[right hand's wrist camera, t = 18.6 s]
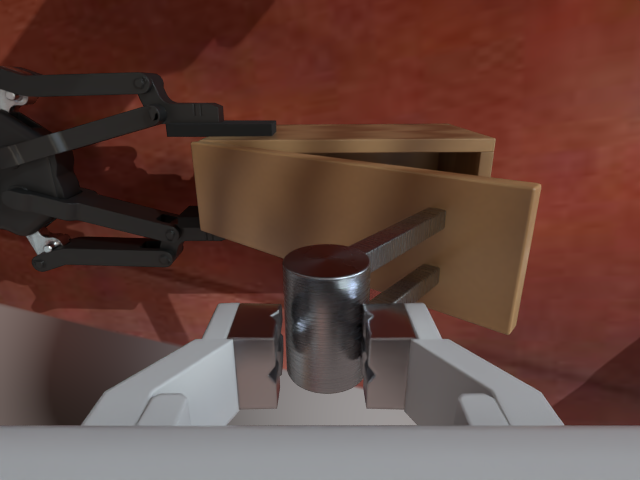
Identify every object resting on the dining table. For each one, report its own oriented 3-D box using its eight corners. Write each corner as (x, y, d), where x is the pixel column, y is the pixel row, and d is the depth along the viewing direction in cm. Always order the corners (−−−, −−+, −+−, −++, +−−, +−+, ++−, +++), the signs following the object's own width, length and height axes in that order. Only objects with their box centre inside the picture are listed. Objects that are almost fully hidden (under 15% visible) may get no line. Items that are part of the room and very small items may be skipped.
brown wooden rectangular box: (448, 123, 33) (496, 138, 24) (442, 188, 35) (484, 225, 26) (232, 125, 33) (198, 140, 24) (237, 190, 35) (207, 226, 26)
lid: (542, 183, 13) (423, 266, 7) (516, 326, 15) (404, 486, 9) (202, 140, 24) (42, 160, 18) (211, 227, 26) (68, 270, 20)
